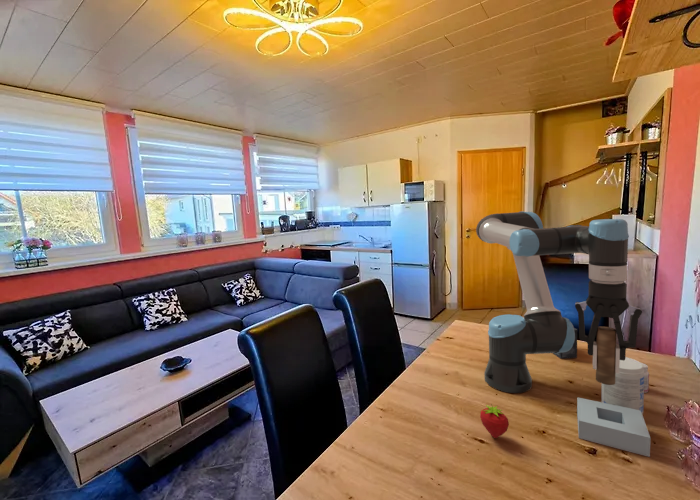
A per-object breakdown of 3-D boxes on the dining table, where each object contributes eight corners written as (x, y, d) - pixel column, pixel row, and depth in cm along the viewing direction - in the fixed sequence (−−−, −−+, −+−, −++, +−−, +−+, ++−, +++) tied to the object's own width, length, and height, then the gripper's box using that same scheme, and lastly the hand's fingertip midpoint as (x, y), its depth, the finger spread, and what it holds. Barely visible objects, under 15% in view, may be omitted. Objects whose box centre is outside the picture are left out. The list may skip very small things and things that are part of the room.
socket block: (578, 438, 85) (578, 420, 85) (577, 413, 95) (577, 397, 95) (649, 457, 78) (650, 437, 77) (640, 427, 87) (640, 410, 87)
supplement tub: (650, 421, 90) (652, 371, 88) (609, 417, 93) (610, 368, 91) (632, 401, 99) (633, 355, 97) (595, 398, 102) (596, 353, 100)
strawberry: (501, 450, 83) (500, 414, 82) (475, 435, 89) (474, 401, 88) (514, 440, 86) (513, 405, 85) (488, 426, 92) (487, 393, 91)
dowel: (595, 382, 83) (596, 330, 82) (595, 375, 87) (596, 325, 85) (615, 386, 81) (616, 333, 80) (614, 379, 84) (615, 327, 83)
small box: (578, 358, 128) (578, 329, 126) (560, 359, 128) (560, 330, 126) (557, 344, 141) (557, 318, 139) (541, 345, 141) (541, 319, 140)
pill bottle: (652, 393, 102) (653, 368, 101) (634, 392, 103) (635, 367, 102) (642, 385, 107) (642, 361, 106) (625, 384, 108) (626, 360, 107)
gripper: (566, 281, 83) (565, 367, 86) (655, 286, 73) (652, 383, 76) (567, 276, 89) (567, 356, 92) (650, 279, 79) (647, 370, 82)
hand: (605, 368), depth 84 cm, fingers closed on dowel, 4 cm apart
